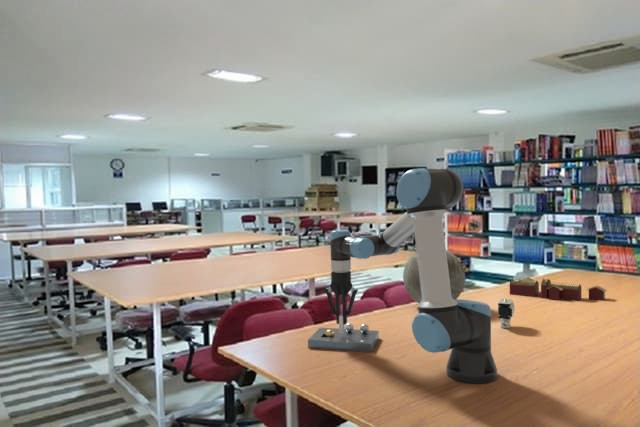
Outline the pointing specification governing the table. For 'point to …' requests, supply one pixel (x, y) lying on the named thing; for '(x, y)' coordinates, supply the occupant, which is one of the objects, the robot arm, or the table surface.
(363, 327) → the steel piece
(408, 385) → the table surface
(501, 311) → the pneumatic valve
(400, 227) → the robot arm
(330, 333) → the brass ball
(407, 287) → the mottled grey sphere
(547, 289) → the toy houses
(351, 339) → the hole plate
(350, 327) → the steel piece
